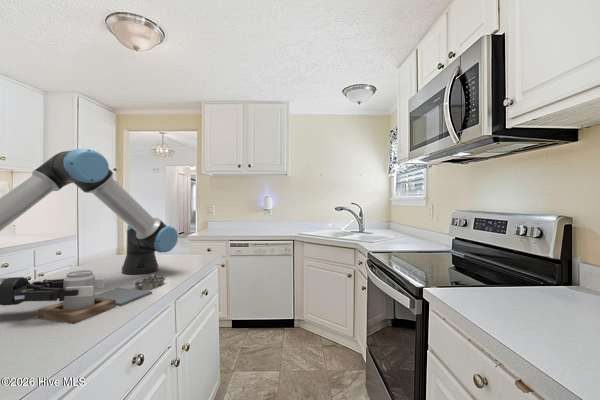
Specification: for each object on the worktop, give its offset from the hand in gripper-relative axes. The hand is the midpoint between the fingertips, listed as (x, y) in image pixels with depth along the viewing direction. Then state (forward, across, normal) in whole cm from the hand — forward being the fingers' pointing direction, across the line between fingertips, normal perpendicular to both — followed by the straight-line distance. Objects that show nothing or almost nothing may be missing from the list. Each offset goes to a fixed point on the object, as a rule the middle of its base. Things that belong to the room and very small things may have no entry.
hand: (98, 286), depth 86 cm
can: (-5, 0, -7) cm, 9 cm away
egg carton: (+9, -24, -8) cm, 27 cm away
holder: (-5, 0, -7) cm, 9 cm away
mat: (+2, -12, -7) cm, 14 cm away
